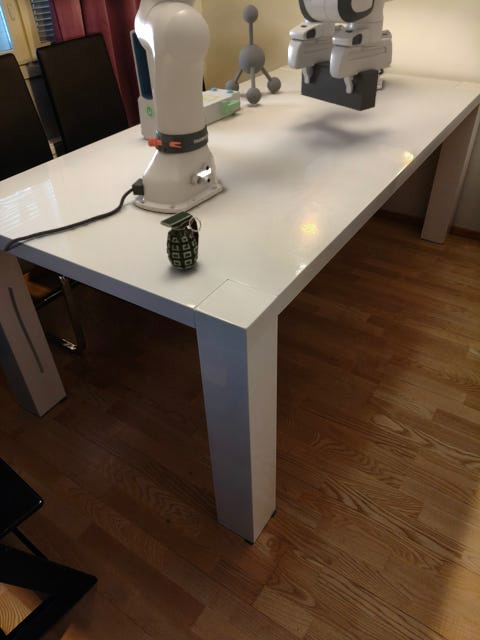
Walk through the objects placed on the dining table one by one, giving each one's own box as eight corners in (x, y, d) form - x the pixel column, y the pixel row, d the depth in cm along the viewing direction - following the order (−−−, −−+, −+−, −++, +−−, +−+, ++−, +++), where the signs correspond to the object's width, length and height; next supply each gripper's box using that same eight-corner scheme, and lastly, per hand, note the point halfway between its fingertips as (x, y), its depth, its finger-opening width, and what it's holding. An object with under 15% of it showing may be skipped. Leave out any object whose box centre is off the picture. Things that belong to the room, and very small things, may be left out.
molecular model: (299, 96, 185) (301, 2, 166) (252, 107, 175) (249, 9, 157) (262, 86, 200) (261, -1, 182) (217, 96, 191) (211, 5, 173)
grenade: (182, 278, 88) (175, 228, 82) (162, 268, 91) (153, 219, 85) (208, 263, 92) (203, 214, 85) (187, 253, 95) (181, 205, 89)
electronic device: (141, 137, 154) (123, 28, 136) (159, 131, 158) (144, 24, 140) (166, 145, 147) (151, 30, 129) (185, 138, 151) (172, 26, 133)
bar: (374, 107, 137) (379, 70, 132) (360, 111, 135) (363, 73, 129) (314, 91, 154) (316, 58, 149) (301, 94, 152) (301, 61, 146)
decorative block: (204, 85, 179) (249, 90, 169) (206, 103, 183) (250, 109, 173) (156, 101, 163) (202, 108, 153) (159, 121, 167) (204, 129, 157)
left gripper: (383, 27, 134) (377, 82, 143) (327, 37, 126) (324, 94, 134) (401, 29, 130) (393, 85, 138) (344, 40, 121) (340, 99, 130)
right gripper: (338, 23, 146) (335, 73, 155) (284, 31, 137) (284, 85, 146) (353, 24, 142) (349, 76, 150) (299, 34, 133) (298, 88, 142)
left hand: (359, 90), depth 136 cm, fingers closed on bar, 6 cm apart
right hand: (317, 80), depth 148 cm, fingers closed on bar, 6 cm apart
